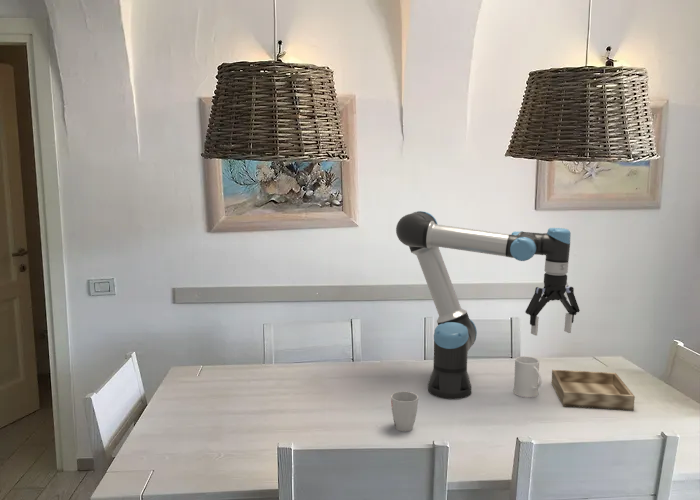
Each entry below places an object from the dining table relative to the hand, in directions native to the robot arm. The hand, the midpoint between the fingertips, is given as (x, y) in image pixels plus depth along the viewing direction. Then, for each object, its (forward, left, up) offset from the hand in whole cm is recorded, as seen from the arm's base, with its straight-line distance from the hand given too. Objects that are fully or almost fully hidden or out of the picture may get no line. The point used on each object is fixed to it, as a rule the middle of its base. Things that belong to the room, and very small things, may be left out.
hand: (550, 333), depth 211 cm
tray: (+14, -3, -21) cm, 25 cm away
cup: (-48, -38, -21) cm, 65 cm away
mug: (-7, -5, -21) cm, 23 cm away
